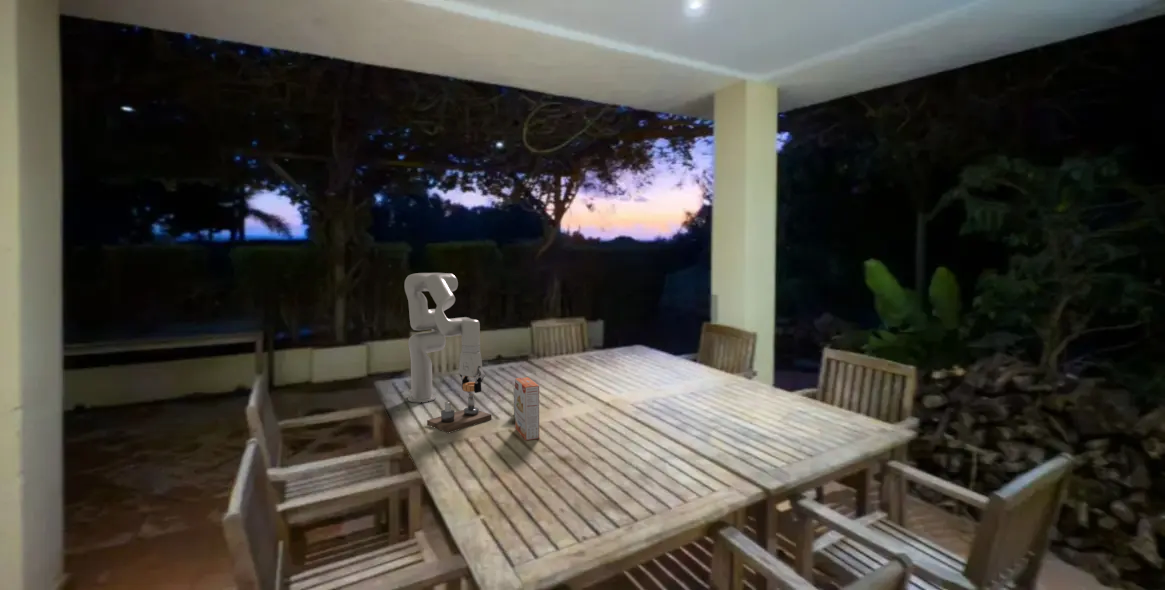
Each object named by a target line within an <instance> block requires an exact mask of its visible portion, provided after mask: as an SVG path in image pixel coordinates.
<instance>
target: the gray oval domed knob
mask: <svg viewBox="0 0 1165 590" xmlns="http://www.w3.org/2000/svg"><path fill="white" fill-rule="evenodd" d="M451 406H452V402H451V401H446V402H444V409H442V410H441V412H440V414H441V415H440V416H441V422H443V423H451V422H454V421H455V420H454V412H455V410H454V409H451V408H452V407H451Z"/></svg>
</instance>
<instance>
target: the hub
mask: <svg viewBox="0 0 1165 590" xmlns="http://www.w3.org/2000/svg"><path fill="white" fill-rule="evenodd" d="M463 410H464V415H465V416H475V415H478V414H479V411H480V410H479V408H478V407H475V397H474V393H469V394H468V397H467V407H465V408H464V409H463Z"/></svg>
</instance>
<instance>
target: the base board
mask: <svg viewBox="0 0 1165 590" xmlns="http://www.w3.org/2000/svg"><path fill="white" fill-rule="evenodd" d="M454 420H455V421H454V422H451V423H443V422H441V415H440V416H437V417H434V418H430V419H427V420H426V425H427V426H428V425H429V427H431V426H432V427H431V428H434V427H435V428H434V429H437V430H439V429H440V431H442V430H443V431H442V432H445V433H447V432H448V434H449V432H450V433H452V431H453V432H455V430H456V431H459V430H462V429H465V428H467V427H471V426H474V424H475V425H477V424H480V423H481V424H482V423H484V422H486V421H490V420H492V413H488V412H485V411H480V410H479V414H478V415H475V416H465V415H464V409H462V410H458V411H454ZM458 429H459V430H458Z"/></svg>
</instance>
